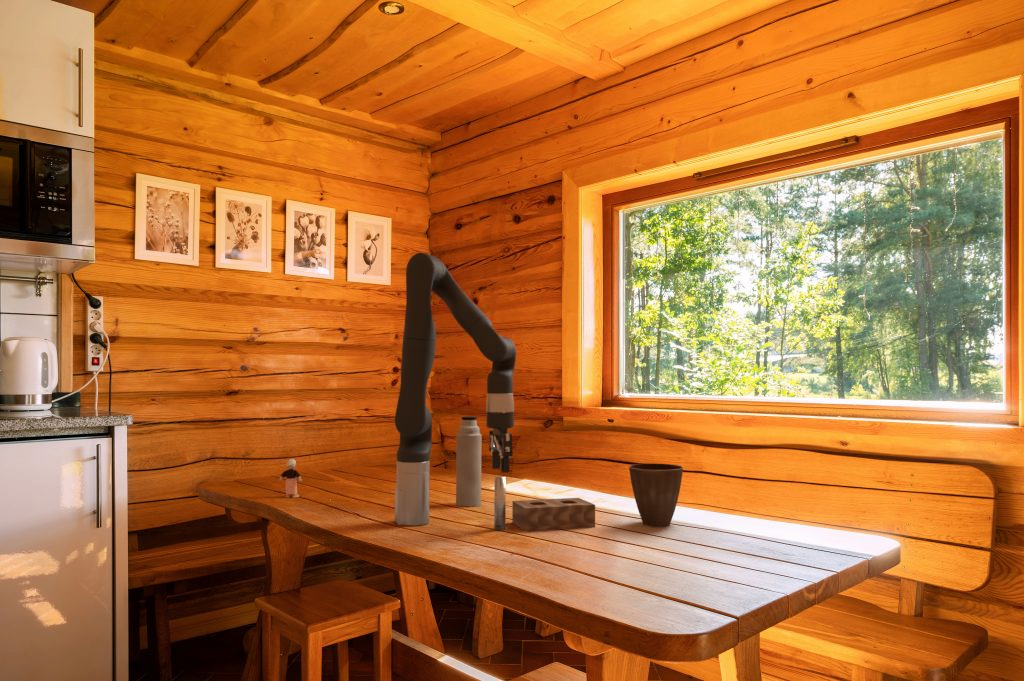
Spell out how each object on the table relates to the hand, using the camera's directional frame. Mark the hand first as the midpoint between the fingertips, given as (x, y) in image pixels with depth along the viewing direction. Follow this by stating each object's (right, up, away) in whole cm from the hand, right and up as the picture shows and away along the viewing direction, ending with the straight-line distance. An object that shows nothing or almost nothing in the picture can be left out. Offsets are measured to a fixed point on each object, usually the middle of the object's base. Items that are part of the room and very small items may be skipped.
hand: (500, 470), depth 203 cm
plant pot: (+43, -16, +7) cm, 47 cm away
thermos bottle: (-11, -18, +37) cm, 42 cm away
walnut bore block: (+14, -16, +6) cm, 22 cm away
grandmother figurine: (-72, -18, +50) cm, 89 cm away
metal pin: (0, -16, -1) cm, 16 cm away
